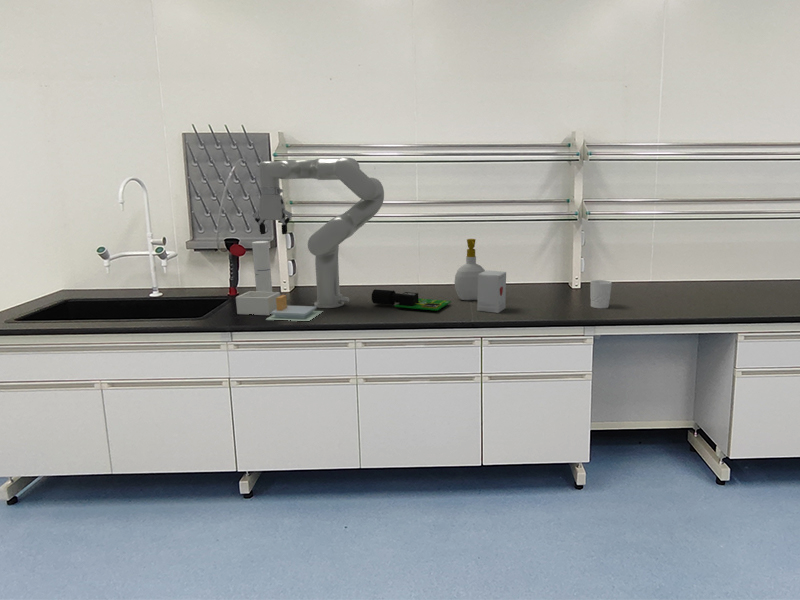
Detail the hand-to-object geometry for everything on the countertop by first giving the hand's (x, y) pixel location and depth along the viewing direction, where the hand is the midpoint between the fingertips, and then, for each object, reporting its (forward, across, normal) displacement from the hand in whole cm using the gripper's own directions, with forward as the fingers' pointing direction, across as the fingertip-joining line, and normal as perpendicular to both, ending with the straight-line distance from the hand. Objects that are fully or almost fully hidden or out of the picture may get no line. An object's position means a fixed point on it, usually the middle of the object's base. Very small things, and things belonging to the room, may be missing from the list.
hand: (273, 234), depth 231 cm
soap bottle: (+31, -80, -20) cm, 88 cm away
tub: (+30, +3, +12) cm, 33 cm away
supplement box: (+31, -90, -4) cm, 95 cm away
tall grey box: (+31, +14, -14) cm, 36 cm away
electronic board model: (+31, -57, -5) cm, 65 cm away
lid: (+30, -15, +17) cm, 37 cm away
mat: (+30, -15, +17) cm, 38 cm away
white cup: (+31, -132, -15) cm, 136 cm away
